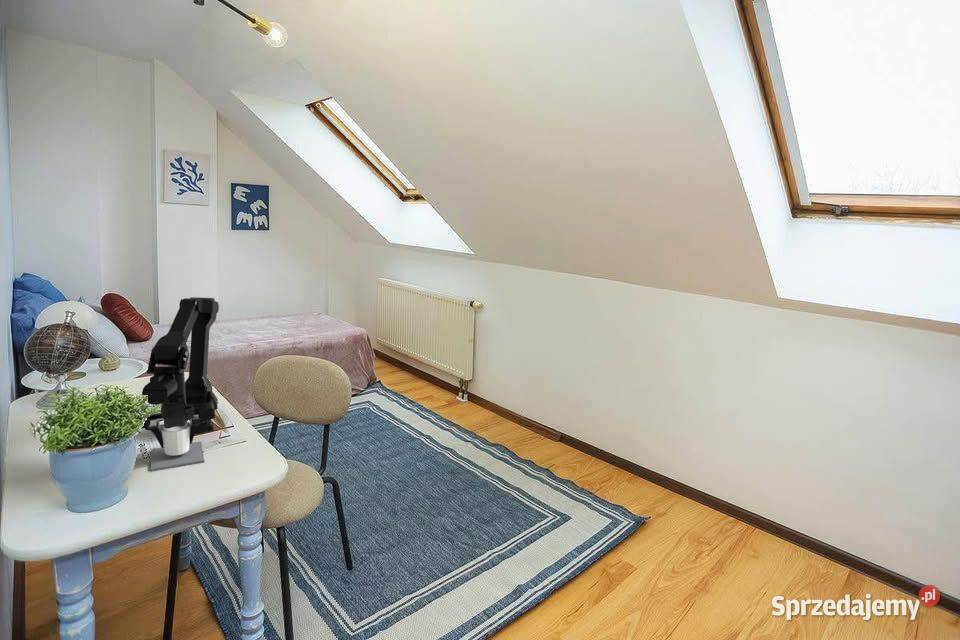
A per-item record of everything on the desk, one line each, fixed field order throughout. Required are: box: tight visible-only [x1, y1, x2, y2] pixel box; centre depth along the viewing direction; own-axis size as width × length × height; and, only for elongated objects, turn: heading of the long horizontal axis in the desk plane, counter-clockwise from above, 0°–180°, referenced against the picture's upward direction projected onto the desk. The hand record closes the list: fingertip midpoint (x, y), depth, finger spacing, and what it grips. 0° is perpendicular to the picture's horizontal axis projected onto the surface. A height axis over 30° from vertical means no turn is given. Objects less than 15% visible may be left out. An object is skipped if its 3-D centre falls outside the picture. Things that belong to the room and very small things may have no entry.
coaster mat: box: [150, 441, 205, 472], centre depth 144 cm, size 12×12×1 cm
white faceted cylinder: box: [160, 421, 190, 456], centre depth 143 cm, size 7×7×7 cm
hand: (176, 445), depth 144 cm, fingers closed on white faceted cylinder, 6 cm apart
